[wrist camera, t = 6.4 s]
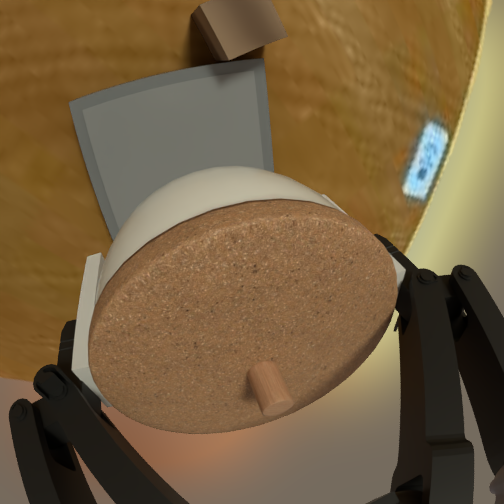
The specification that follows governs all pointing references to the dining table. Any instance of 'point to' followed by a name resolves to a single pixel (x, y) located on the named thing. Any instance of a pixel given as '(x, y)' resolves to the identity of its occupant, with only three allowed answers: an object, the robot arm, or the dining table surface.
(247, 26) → the walnut block
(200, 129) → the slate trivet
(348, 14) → the dining table surface
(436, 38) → the dining table surface
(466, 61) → the dining table surface
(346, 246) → the lidded jar
